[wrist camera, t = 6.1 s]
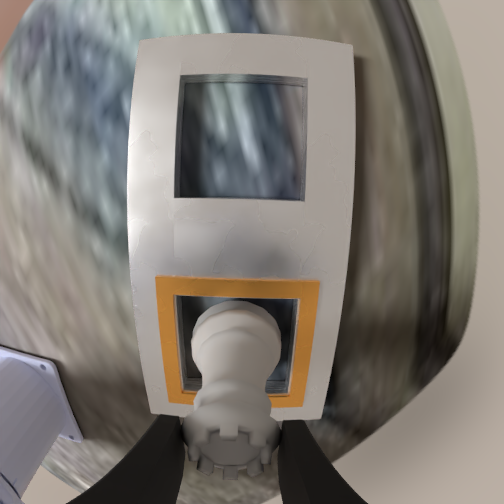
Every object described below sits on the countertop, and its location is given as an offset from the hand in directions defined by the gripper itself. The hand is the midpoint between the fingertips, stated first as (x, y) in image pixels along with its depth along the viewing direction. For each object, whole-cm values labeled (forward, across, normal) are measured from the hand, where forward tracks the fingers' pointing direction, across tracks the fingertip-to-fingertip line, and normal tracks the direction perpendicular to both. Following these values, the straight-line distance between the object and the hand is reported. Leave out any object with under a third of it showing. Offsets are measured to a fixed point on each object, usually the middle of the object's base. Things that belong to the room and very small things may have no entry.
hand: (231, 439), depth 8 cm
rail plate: (+7, 0, -5) cm, 9 cm away
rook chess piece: (+7, 0, 0) cm, 7 cm away
